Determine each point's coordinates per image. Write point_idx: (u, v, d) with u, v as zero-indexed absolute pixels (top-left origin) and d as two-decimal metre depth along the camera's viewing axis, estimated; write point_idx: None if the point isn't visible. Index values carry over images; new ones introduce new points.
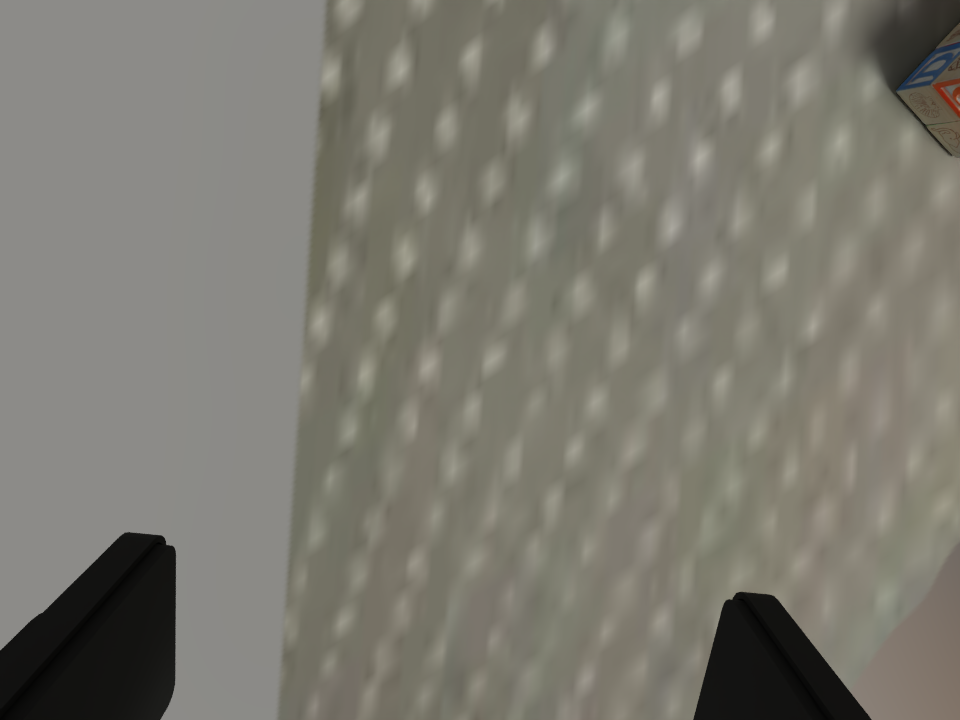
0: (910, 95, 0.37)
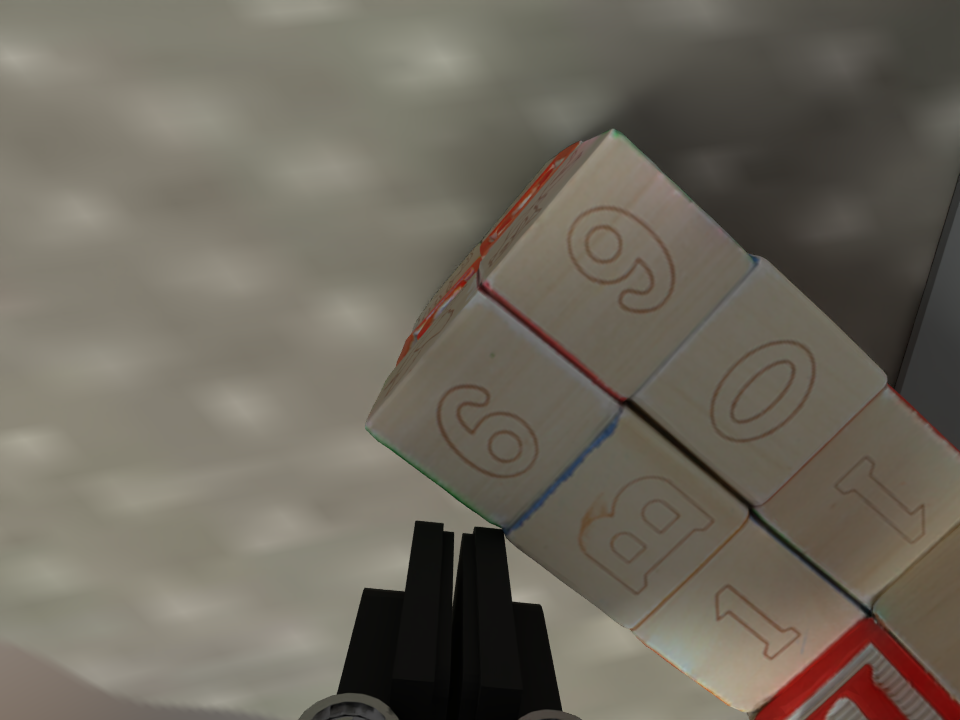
0: (539, 172, 0.17)
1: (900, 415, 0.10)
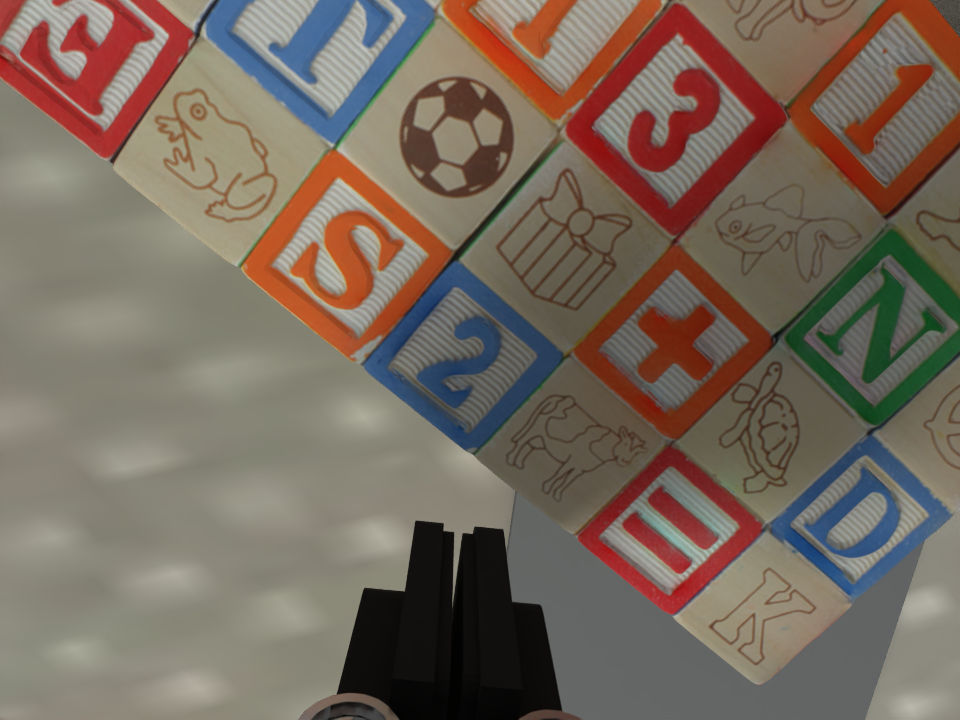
0: None
1: None
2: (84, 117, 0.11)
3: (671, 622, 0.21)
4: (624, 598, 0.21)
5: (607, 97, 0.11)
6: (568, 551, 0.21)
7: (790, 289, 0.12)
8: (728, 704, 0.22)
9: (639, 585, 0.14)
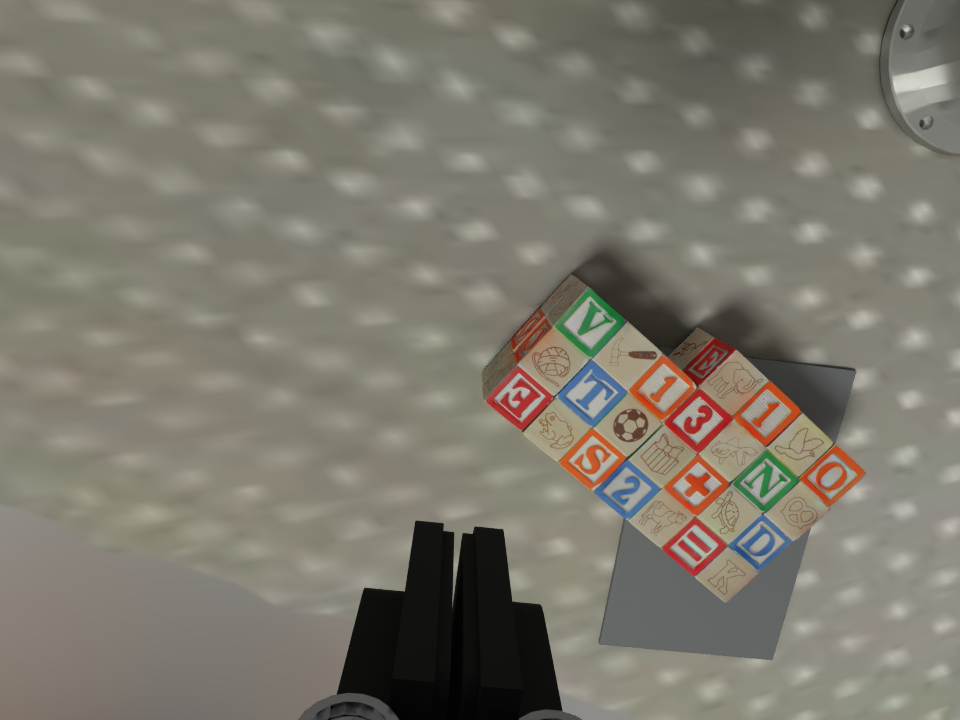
0: (490, 365, 0.42)
1: None
2: (516, 418, 0.37)
3: (690, 585, 0.47)
4: (669, 574, 0.47)
5: (677, 414, 0.37)
6: (645, 553, 0.46)
7: (735, 468, 0.38)
8: (716, 625, 0.48)
9: (683, 565, 0.40)
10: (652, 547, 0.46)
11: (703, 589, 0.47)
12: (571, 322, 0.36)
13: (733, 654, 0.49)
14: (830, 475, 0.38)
